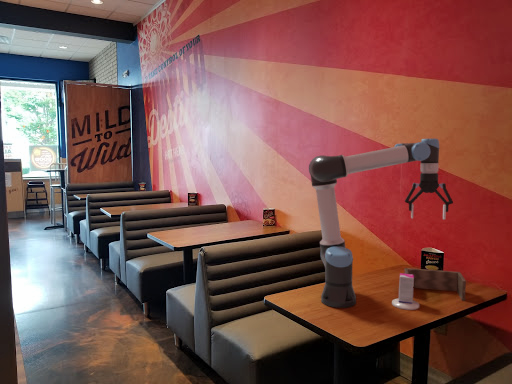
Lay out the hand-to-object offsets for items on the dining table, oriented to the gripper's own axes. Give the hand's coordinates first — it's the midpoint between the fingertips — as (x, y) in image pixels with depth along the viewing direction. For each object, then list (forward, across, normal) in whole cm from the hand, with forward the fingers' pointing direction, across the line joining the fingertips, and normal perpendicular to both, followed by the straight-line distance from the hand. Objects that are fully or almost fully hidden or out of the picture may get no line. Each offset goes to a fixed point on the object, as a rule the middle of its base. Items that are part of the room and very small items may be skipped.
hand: (427, 218), depth 180 cm
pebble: (+35, -10, -20) cm, 41 cm away
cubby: (+35, +3, -2) cm, 35 cm away
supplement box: (+34, -10, -17) cm, 40 cm away
